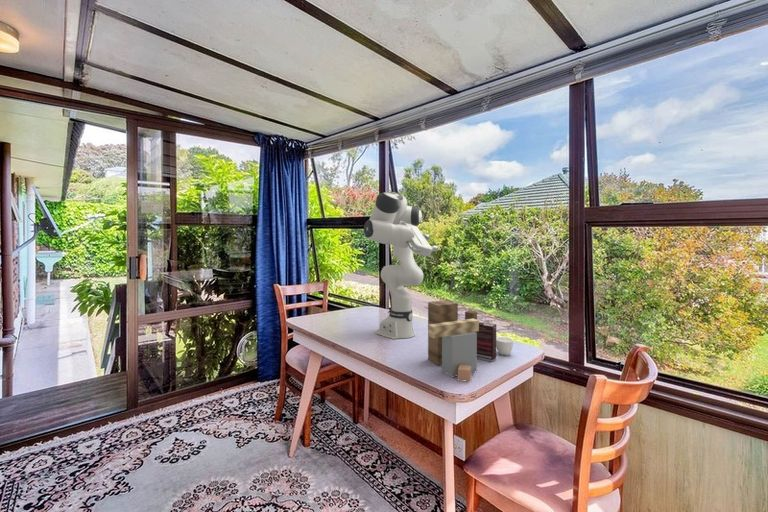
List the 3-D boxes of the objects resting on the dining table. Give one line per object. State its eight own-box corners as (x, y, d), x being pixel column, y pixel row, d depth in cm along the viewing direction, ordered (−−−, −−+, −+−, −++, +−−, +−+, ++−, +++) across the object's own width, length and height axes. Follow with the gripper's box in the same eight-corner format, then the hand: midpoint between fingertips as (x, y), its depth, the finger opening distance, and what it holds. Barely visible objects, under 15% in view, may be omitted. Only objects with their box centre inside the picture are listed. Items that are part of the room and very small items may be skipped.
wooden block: (468, 352, 157) (468, 314, 155) (459, 349, 160) (460, 313, 158) (477, 347, 163) (477, 311, 162) (468, 345, 166) (469, 310, 165)
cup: (494, 355, 153) (494, 340, 152) (497, 348, 161) (497, 334, 161) (511, 357, 149) (512, 343, 149) (514, 350, 158) (514, 337, 157)
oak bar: (433, 338, 127) (433, 326, 127) (428, 335, 130) (428, 324, 130) (478, 331, 136) (478, 320, 136) (473, 328, 139) (473, 318, 139)
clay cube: (457, 380, 127) (457, 368, 126) (459, 375, 131) (459, 364, 131) (469, 382, 125) (469, 370, 125) (471, 377, 129) (471, 366, 129)
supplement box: (496, 359, 148) (497, 324, 147) (492, 362, 144) (493, 326, 143) (478, 354, 153) (478, 321, 152) (473, 357, 149) (474, 323, 148)
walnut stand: (437, 365, 140) (438, 305, 139) (428, 359, 148) (428, 302, 146) (457, 362, 144) (457, 303, 143) (446, 355, 152) (447, 300, 150)
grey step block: (452, 376, 130) (452, 336, 129) (441, 370, 136) (442, 332, 135) (476, 371, 134) (476, 333, 133) (465, 365, 141) (465, 328, 140)
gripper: (414, 242, 123) (445, 249, 128) (399, 219, 140) (427, 225, 145) (408, 256, 126) (438, 262, 131) (394, 231, 143) (422, 238, 148)
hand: (432, 243), depth 138 cm, fingers open, 8 cm apart
